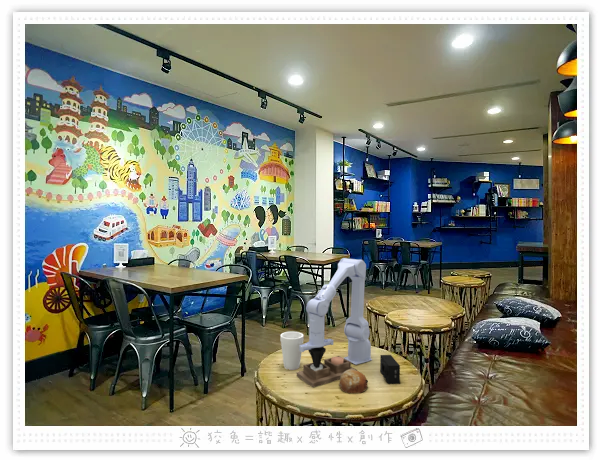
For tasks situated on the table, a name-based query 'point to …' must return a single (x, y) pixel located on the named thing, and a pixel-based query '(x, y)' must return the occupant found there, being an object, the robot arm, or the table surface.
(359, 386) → the bread roll
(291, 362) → the foam cup
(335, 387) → the table surface
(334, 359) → the tan rounded piece
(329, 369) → the brown wooden tray
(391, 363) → the digital camera
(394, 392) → the table surface
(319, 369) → the grey plunger
